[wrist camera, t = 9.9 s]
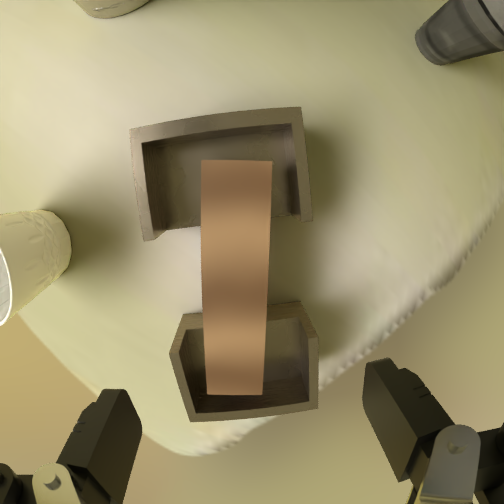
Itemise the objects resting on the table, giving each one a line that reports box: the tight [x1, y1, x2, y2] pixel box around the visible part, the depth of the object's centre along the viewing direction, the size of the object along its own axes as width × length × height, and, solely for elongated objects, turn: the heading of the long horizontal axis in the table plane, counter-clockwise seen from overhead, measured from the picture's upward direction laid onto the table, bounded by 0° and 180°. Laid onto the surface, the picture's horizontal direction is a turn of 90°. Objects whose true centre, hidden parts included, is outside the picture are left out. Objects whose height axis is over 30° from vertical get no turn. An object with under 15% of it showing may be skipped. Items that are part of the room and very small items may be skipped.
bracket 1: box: [129, 107, 313, 241], centre depth 20 cm, size 7×10×6 cm
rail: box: [201, 160, 272, 395], centre depth 21 cm, size 16×4×4 cm, turn 179°
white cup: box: [0, 210, 72, 326], centre depth 19 cm, size 8×8×10 cm
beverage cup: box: [415, 0, 504, 65], centre depth 11 cm, size 7×7×20 cm
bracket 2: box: [169, 301, 318, 422], centre depth 24 cm, size 7×10×6 cm
